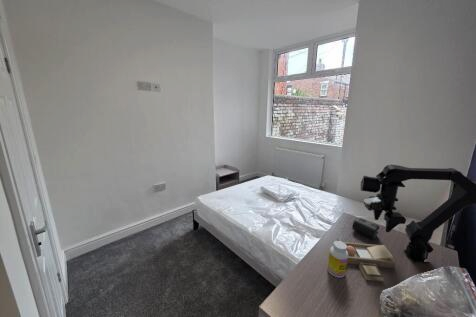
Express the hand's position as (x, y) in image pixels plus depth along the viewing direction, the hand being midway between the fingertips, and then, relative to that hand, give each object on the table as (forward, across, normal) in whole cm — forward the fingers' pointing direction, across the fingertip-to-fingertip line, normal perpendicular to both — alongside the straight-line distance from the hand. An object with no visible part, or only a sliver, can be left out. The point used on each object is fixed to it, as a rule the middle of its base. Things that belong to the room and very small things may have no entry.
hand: (381, 225), depth 90 cm
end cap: (+12, -10, -1) cm, 16 cm away
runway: (+12, +7, -8) cm, 16 cm away
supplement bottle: (+12, +17, -23) cm, 31 cm away
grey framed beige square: (+12, +16, -10) cm, 23 cm away
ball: (+10, +7, -14) cm, 19 cm away
